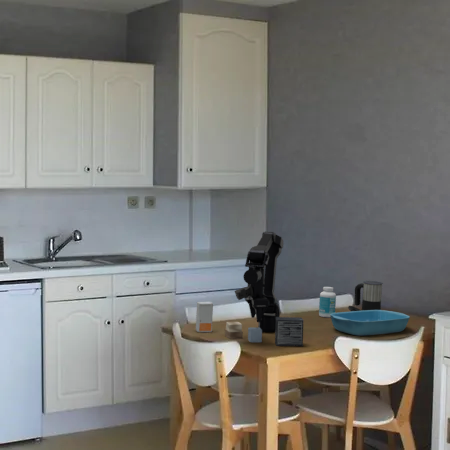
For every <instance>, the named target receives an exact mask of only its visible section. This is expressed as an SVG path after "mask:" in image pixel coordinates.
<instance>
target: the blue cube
mask: <svg viewBox="0 0 450 450" xmlns="http://www.w3.org/2000/svg"><path fill="white" fill-rule="evenodd" d="M262 340H263V332H262V329H261V328H259V327H248V328H247V341H249V343H262V342H263V341H262Z"/></svg>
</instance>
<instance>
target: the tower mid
mask: <svg viewBox="0 0 450 450" xmlns="http://www.w3.org/2000/svg"><path fill="white" fill-rule="evenodd" d="M225 324H226V325H225V330H227V331H228V332H243V324H242V323H241V322H239V321H226V322H225Z"/></svg>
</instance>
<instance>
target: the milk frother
mask: <svg viewBox="0 0 450 450" xmlns="http://www.w3.org/2000/svg"><path fill="white" fill-rule="evenodd" d="M383 284H384V283H383V282H382V281H376V280H375V281H374V280H365V281H363V282H362V283H358V284H357V285H356V286H355V287H354V305H355V306H360V305H361V309H359V308H358V307H355V306H353V305H349V306H348V310H349V312H350V311H363V310H382V294H383V293H382V292H383ZM361 289H362V291H361ZM361 292H362V293H361ZM361 294H362V302H361Z"/></svg>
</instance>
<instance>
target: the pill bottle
mask: <svg viewBox="0 0 450 450" xmlns="http://www.w3.org/2000/svg"><path fill="white" fill-rule="evenodd" d="M322 290H323V291H322V292H320V293H319V305H318V315H319V317H322V318H328V319H329V318H330V319H331V316H330V314H331V313H336V303H337V301H336V300H337V299H336V298H337V296H336V295H337V294H336V292H334V287H333V286H332V287H331V286H323V287H322Z"/></svg>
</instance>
